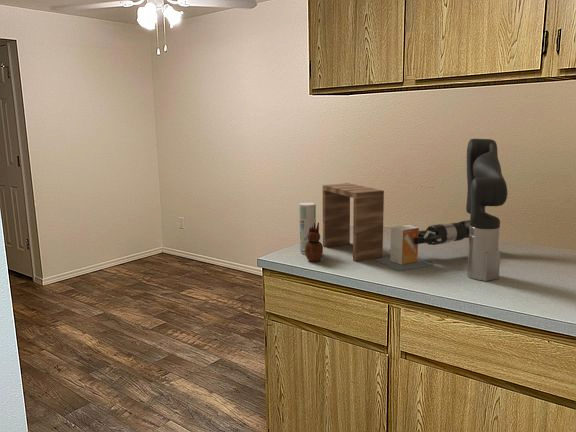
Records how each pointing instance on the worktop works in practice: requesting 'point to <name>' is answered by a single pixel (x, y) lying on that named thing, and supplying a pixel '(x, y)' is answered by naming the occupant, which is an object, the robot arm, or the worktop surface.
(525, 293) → the worktop surface
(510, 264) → the worktop surface
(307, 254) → the wooden figurine
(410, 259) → the small box
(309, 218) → the spray can
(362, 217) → the arch
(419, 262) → the mat
